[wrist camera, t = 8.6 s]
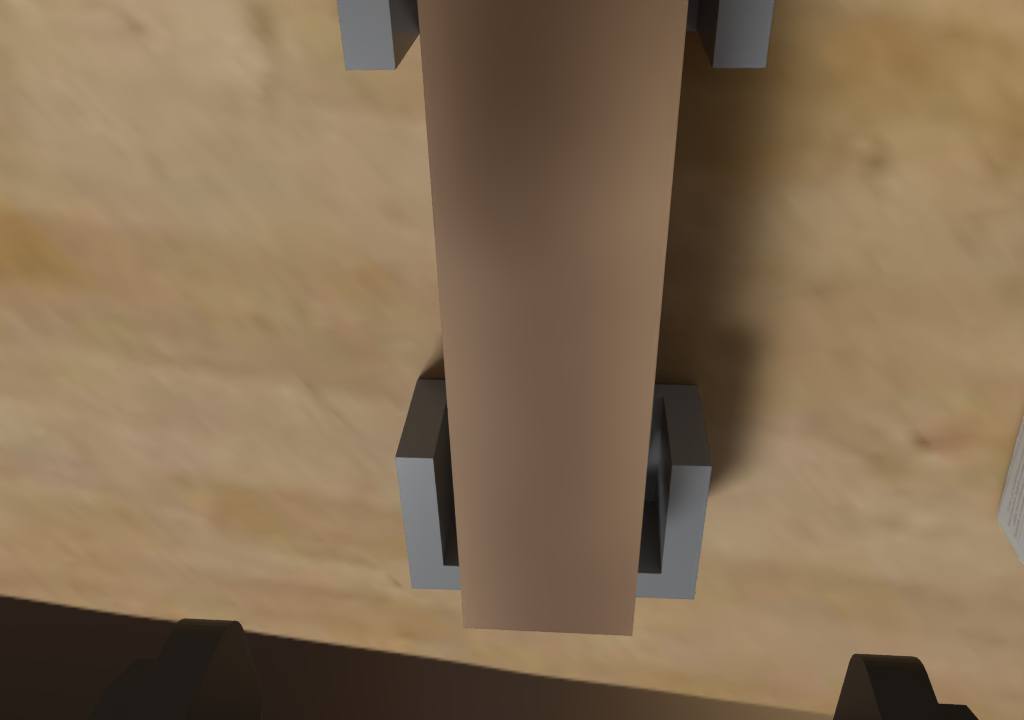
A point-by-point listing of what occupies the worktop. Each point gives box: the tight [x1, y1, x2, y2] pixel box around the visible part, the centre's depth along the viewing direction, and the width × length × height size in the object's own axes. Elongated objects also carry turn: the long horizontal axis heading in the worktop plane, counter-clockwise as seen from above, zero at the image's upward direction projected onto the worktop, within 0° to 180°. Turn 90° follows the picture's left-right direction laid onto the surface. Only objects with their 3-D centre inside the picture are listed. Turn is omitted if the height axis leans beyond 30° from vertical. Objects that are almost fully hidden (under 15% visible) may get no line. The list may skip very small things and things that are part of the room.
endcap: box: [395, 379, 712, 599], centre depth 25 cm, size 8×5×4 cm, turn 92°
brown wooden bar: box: [417, 0, 688, 636], centre depth 20 cm, size 4×16×6 cm, turn 1°
